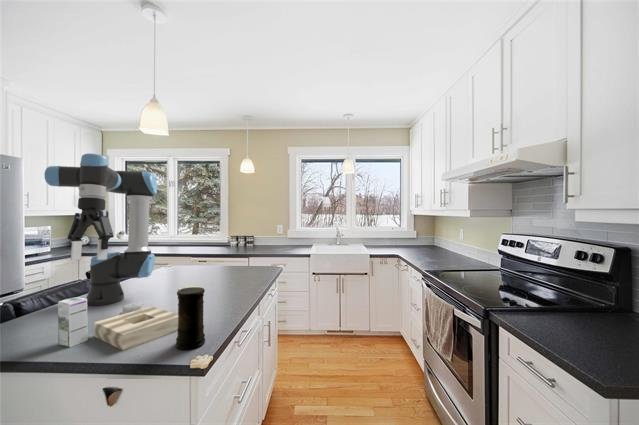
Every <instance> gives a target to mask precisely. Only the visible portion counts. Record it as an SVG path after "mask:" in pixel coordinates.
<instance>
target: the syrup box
mask: <svg viewBox="0 0 639 425" xmlns="http://www.w3.org/2000/svg"><path fill="white" fill-rule="evenodd" d="M57 317H58V318H57V319H58V320H57V321H58V322H57V323H58V325H57V327H58V330H57V331H58V332H57V333H58V337H57V338H58V342H57V343H58V344H57V345H59V346H61V347H62V346H63V347H67V348H72V347H75V346H77V345H79V344H83V343H85V342H87V341H88V305H87V299H86V298H85V297H84V298H83V297H77V296H75V297H70V298H65V299H63V300H59V301H57Z"/></svg>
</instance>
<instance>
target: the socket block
mask: <svg viewBox="0 0 639 425" xmlns="http://www.w3.org/2000/svg"><path fill="white" fill-rule="evenodd" d="M93 326H94V332H93V334H94V336H93V337H95V338H97V339H99V340H101V341H103V342H105V343H106V344H109V345H110V346H113V347H115V348H117V349H119V350H121V351H126V350H129V349H131V348H134V347H137V346H139V345H142V344H144V343H148V342H150V341H152V340H153V341H154V340H156V339H158V338H161V337H163V336H166V335H169V334H173V333H174V332H178V331H177V329H178V313H175V312H172V311H168V310H165V309H161V308H158V307H156V306H148V307H144V309H141V310H137V311H133V312H130V313H126V314H122V315H119V314H118V315H115V316H112V317H108V318H105V319H104V318H103V319H101V320H100V319H99V320H96V321H94V324H93Z"/></svg>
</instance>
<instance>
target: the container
mask: <svg viewBox="0 0 639 425" xmlns="http://www.w3.org/2000/svg"><path fill="white" fill-rule="evenodd" d="M205 291H206V290H205V288H203V287H201V288H200V287H190V288H184V289H180V290H178V289H177V292H176V296H177V301H178V302H179V303H177V314H178V329H177V331H176V332H177V337H176V338H175V339H176V340H175V341H176V343H175V347H176V349H177V350H180V351H191V350H196V349H199V348H200V347H202V346H204V344H205V342H206V338H205V337H206V336H205V335H206V334H205V332H204V331H205V330H204V329H205V326H204V303H205V302H204V296H205Z"/></svg>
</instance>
